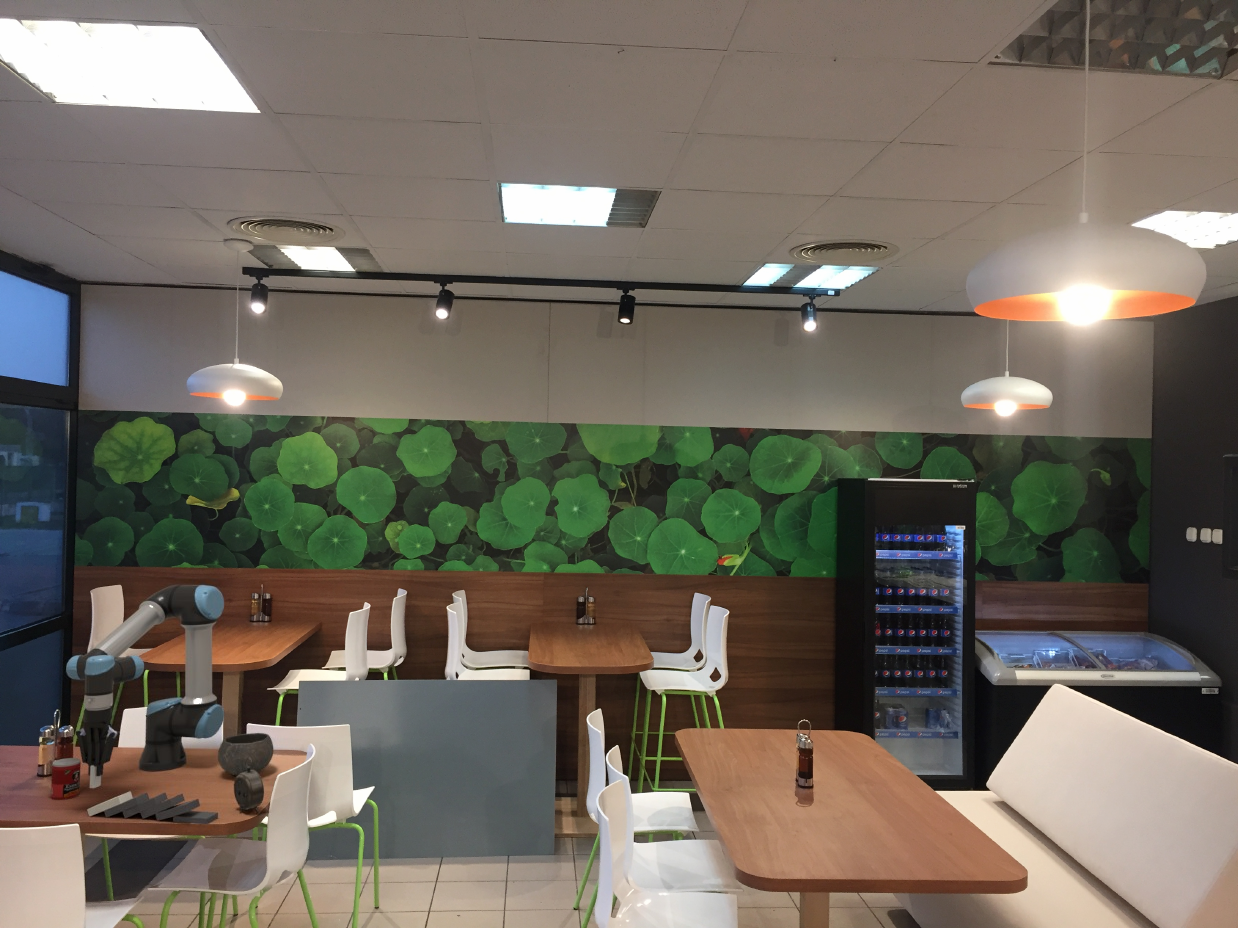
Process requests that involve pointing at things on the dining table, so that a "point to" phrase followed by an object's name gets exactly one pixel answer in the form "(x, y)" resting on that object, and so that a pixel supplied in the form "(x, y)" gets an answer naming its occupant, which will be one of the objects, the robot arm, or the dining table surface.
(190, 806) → the tile
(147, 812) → the tile
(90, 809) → the tile
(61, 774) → the canned food
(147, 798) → the tile
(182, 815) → the tile
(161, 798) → the tile
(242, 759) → the bowl
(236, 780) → the alarm clock
